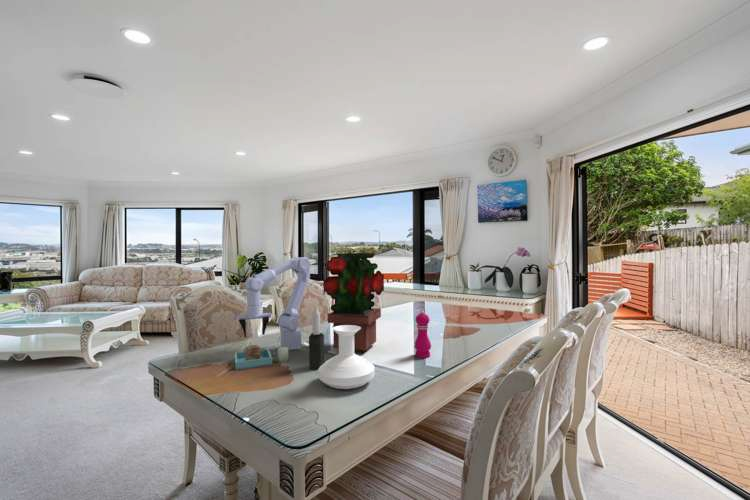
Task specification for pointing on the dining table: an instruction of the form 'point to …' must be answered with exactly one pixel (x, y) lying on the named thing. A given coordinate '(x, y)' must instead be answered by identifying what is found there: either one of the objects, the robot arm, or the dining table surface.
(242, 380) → the dining table surface
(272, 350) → the slate block
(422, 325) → the pepper mill
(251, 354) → the walnut block
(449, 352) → the dining table surface
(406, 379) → the dining table surface
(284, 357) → the sage cylinder
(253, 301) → the robot arm
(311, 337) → the candle
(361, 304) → the potted plant
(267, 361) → the tray
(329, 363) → the white vase
